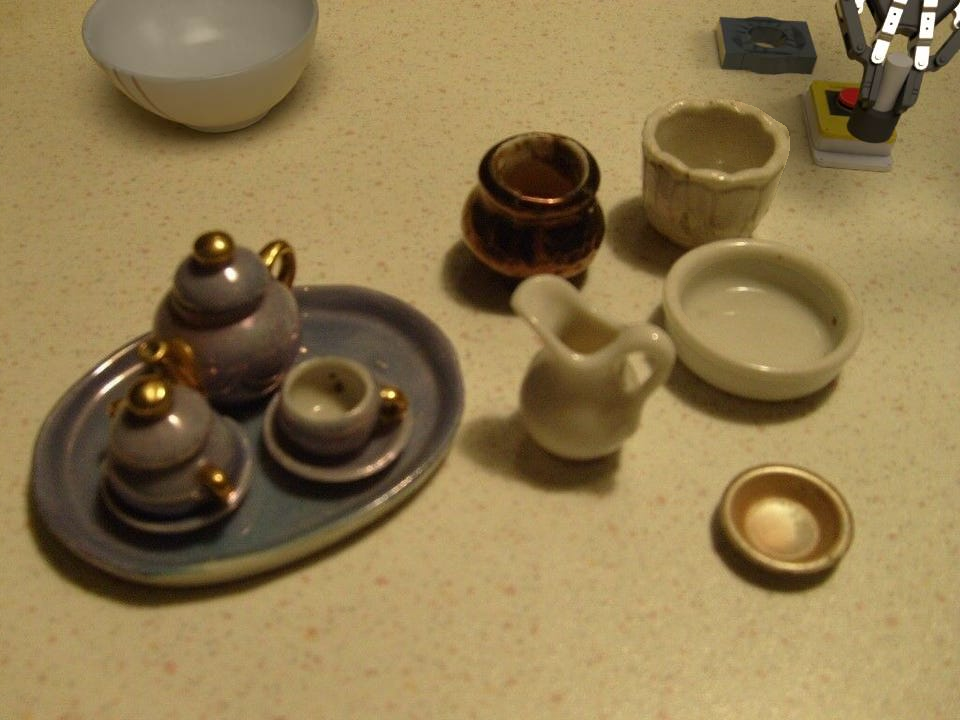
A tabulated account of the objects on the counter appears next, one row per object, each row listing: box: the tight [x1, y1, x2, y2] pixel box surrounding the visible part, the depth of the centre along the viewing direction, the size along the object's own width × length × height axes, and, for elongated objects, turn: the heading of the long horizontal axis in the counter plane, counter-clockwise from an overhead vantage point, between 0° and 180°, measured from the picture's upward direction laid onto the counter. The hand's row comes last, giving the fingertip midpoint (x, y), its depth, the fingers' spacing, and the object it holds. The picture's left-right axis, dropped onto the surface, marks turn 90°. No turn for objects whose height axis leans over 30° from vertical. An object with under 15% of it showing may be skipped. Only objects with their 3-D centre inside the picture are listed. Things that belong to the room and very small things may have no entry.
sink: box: [715, 16, 818, 75], centre depth 117 cm, size 12×10×2 cm
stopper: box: [847, 52, 913, 143], centre depth 84 cm, size 4×4×8 cm
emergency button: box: [800, 79, 898, 173], centre depth 105 cm, size 9×4×15 cm
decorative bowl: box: [81, 0, 320, 134], centre depth 104 cm, size 27×27×12 cm
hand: (884, 108), depth 82 cm, fingers closed on stopper, 2 cm apart
